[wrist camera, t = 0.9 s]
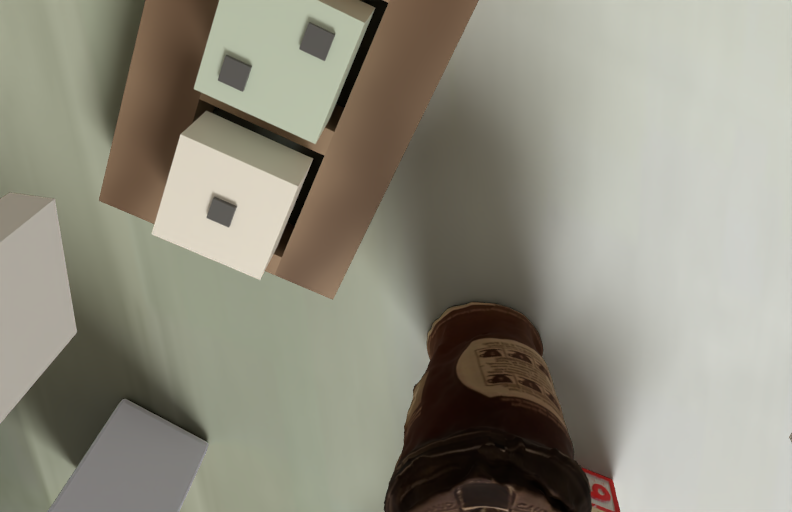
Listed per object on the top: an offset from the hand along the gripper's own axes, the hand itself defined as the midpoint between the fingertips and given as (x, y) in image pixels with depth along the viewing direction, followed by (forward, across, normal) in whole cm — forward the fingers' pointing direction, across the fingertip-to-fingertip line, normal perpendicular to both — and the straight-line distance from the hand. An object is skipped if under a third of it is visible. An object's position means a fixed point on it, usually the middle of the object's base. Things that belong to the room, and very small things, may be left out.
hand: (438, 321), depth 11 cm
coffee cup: (+21, +4, -16) cm, 27 cm away
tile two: (+18, -7, 0) cm, 19 cm away
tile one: (+18, -9, -7) cm, 21 cm away
